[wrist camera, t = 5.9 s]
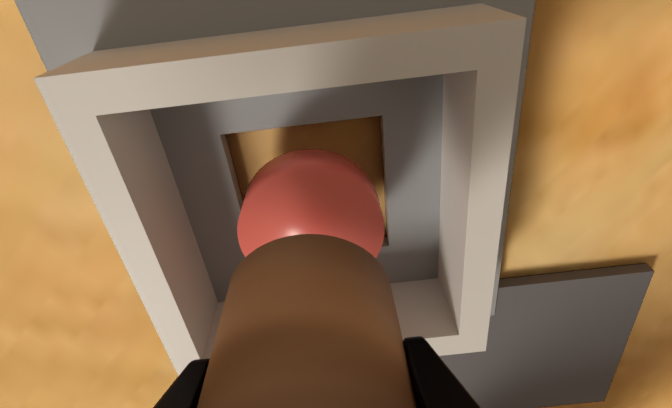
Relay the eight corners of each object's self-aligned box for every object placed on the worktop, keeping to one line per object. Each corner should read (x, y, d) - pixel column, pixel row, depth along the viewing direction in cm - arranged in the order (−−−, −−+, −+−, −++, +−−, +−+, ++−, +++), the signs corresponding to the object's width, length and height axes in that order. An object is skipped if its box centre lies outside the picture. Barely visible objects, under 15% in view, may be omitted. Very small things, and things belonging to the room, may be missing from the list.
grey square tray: (489, 305, 19) (522, 373, 16) (180, 338, 19) (154, 411, 16) (533, -68, 11) (612, -73, 8) (27, -3, 12) (-74, 13, 9)
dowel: (394, 345, 11) (449, 628, 7) (247, 361, 11) (198, 650, 7) (388, 224, 9) (463, 512, 4) (209, 243, 9) (98, 545, 5)
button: (381, 255, 15) (387, 282, 14) (259, 269, 15) (254, 296, 14) (374, 141, 12) (380, 161, 11) (229, 158, 13) (220, 179, 11)
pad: (598, 392, 22) (604, 401, 22) (431, 409, 23) (433, 418, 22) (645, 263, 18) (654, 270, 17) (433, 286, 18) (437, 294, 17)
